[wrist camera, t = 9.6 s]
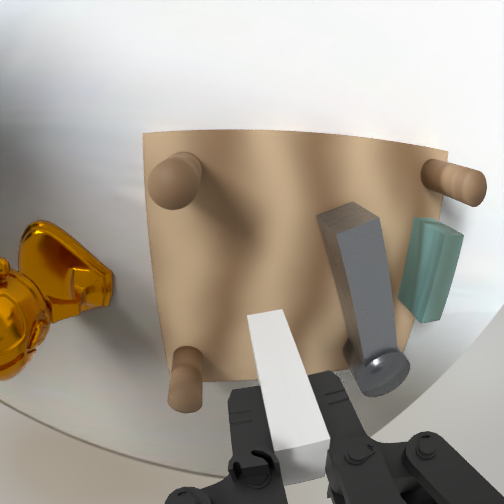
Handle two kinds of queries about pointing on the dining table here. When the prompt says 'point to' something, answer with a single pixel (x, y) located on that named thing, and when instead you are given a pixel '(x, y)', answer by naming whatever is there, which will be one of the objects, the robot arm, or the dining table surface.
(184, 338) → the board
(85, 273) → the figurine
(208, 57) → the dining table surface
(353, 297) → the leg
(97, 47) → the dining table surface
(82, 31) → the dining table surface
